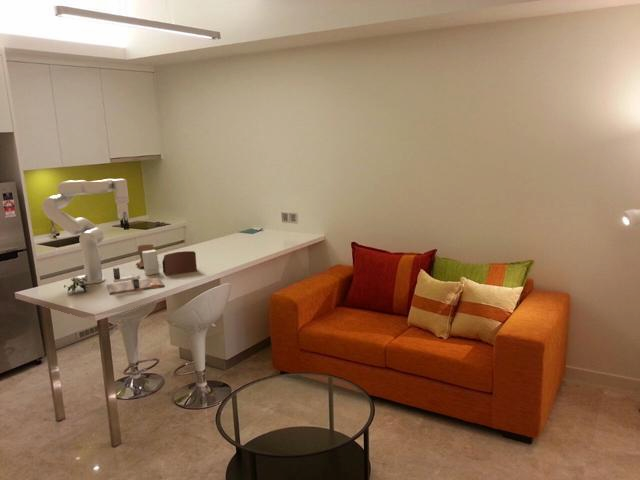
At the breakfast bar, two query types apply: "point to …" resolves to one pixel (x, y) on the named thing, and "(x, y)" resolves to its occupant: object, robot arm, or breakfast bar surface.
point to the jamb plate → (130, 286)
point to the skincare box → (150, 262)
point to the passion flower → (78, 282)
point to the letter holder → (179, 263)
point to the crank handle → (118, 279)
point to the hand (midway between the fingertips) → (125, 228)
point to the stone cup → (140, 249)
